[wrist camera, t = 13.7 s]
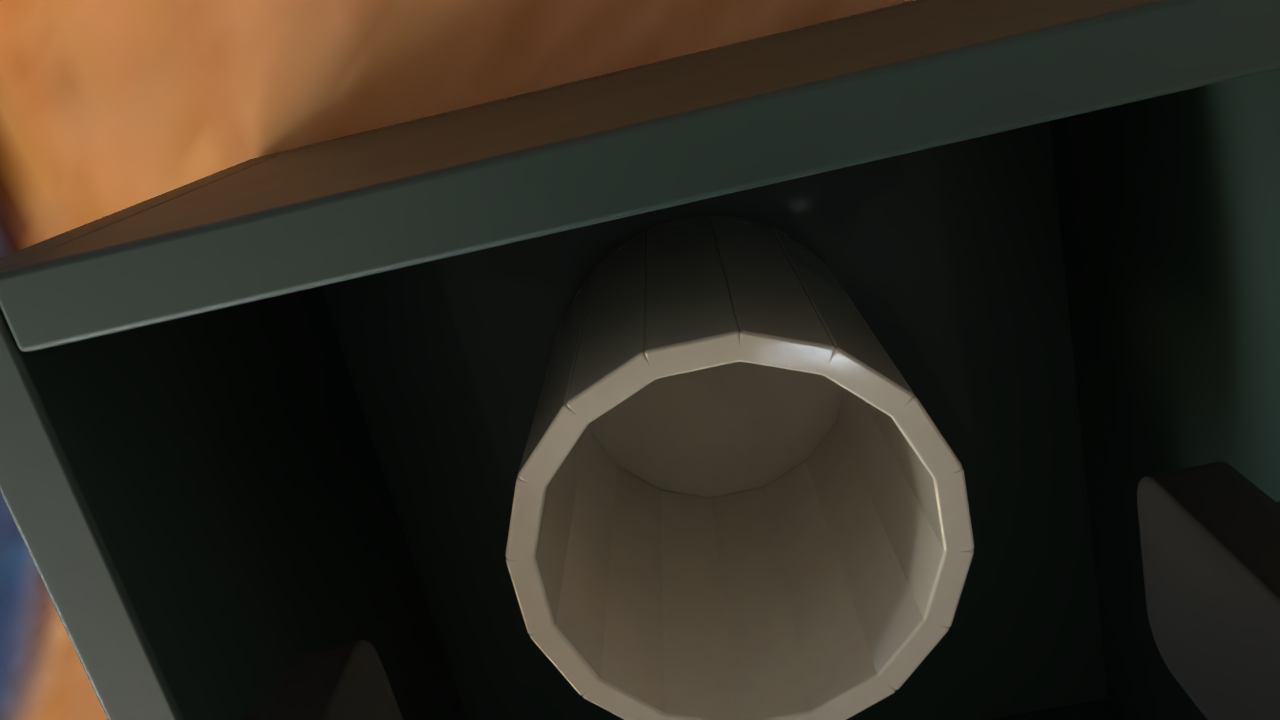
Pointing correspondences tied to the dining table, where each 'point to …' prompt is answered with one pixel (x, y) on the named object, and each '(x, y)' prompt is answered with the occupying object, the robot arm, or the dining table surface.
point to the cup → (732, 489)
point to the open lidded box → (541, 294)
